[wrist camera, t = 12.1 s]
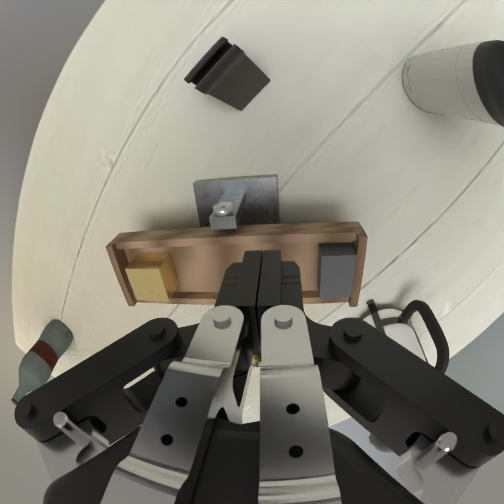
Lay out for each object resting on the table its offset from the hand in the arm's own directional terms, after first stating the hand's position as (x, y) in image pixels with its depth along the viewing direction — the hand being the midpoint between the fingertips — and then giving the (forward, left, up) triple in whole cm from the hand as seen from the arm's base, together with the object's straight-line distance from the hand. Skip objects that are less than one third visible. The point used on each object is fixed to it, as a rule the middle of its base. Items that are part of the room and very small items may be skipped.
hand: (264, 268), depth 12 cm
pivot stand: (+6, +12, -29) cm, 32 cm away
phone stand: (+5, -12, -29) cm, 32 cm away
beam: (+6, +12, -20) cm, 24 cm away
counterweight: (-7, +12, -19) cm, 23 cm away
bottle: (+64, +40, -29) cm, 81 cm away
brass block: (+16, +12, -19) cm, 28 cm away
